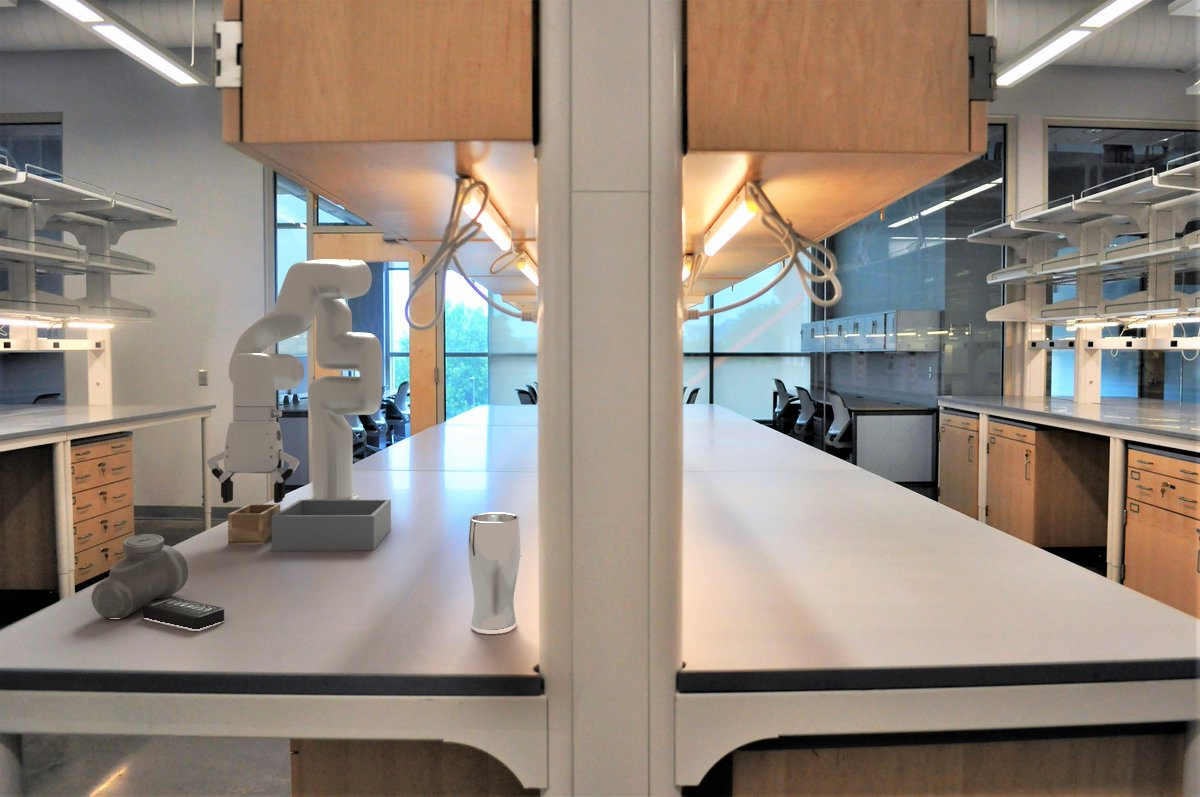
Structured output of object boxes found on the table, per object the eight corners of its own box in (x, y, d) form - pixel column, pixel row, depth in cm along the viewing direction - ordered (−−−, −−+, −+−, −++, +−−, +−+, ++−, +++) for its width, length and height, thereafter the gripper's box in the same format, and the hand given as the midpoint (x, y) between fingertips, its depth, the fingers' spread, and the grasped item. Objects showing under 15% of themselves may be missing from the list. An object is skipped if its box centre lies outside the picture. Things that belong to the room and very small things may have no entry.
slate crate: (299, 530, 154) (299, 499, 154) (390, 530, 156) (390, 499, 156) (271, 550, 138) (271, 516, 138) (373, 550, 140) (373, 516, 139)
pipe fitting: (140, 589, 112) (139, 525, 111) (190, 596, 112) (190, 531, 110) (78, 626, 101) (76, 555, 99) (135, 633, 100) (133, 562, 98)
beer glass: (515, 637, 97) (517, 523, 96) (462, 635, 97) (463, 522, 96) (522, 618, 104) (523, 512, 103) (473, 617, 104) (473, 511, 103)
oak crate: (248, 533, 152) (248, 504, 152) (280, 533, 153) (280, 504, 153) (228, 545, 142) (227, 514, 142) (262, 545, 143) (262, 514, 143)
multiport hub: (196, 635, 97) (196, 617, 96) (141, 621, 101) (141, 605, 101) (226, 624, 101) (225, 607, 101) (172, 612, 105) (171, 596, 105)
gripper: (304, 415, 151) (304, 499, 151) (216, 414, 149) (215, 498, 149) (292, 417, 143) (292, 505, 144) (199, 415, 142) (199, 505, 142)
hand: (253, 501), depth 147 cm, fingers open, 9 cm apart
